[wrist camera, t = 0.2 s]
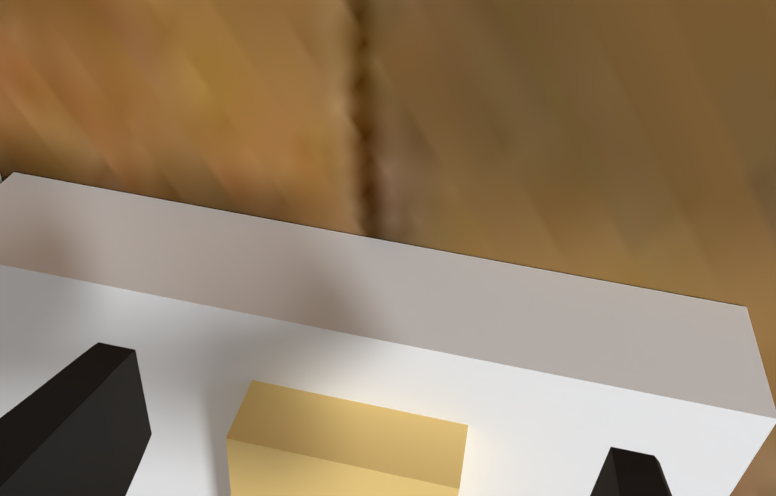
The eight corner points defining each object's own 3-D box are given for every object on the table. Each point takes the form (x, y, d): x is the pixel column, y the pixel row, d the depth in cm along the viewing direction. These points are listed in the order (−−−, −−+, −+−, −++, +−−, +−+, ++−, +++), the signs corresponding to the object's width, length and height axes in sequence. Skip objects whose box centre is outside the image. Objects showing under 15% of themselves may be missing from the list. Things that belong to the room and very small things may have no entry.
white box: (611, 565, 29) (616, 671, 26) (91, 449, 31) (38, 533, 28) (746, 307, 20) (778, 419, 17) (14, 171, 23) (-75, 249, 20)
